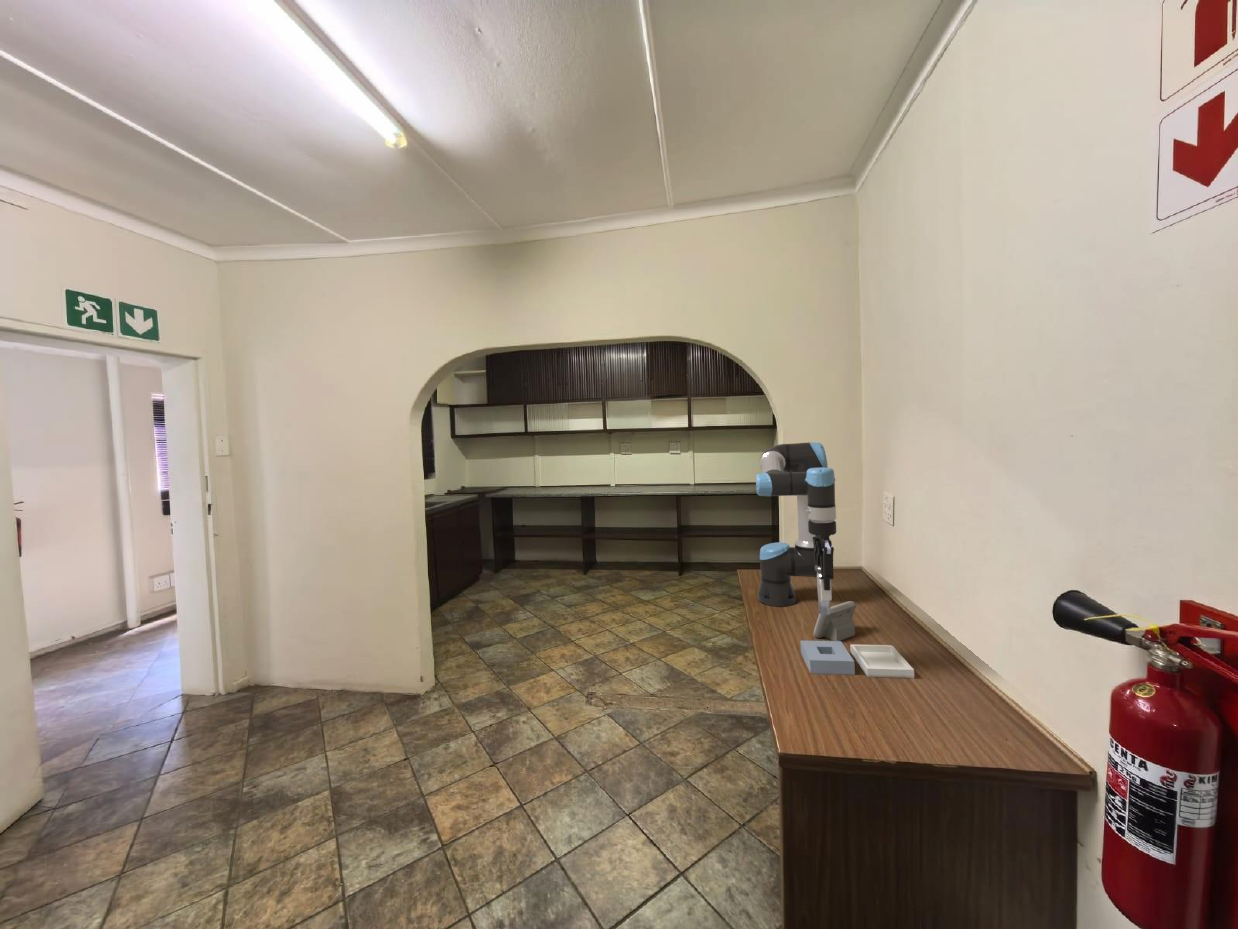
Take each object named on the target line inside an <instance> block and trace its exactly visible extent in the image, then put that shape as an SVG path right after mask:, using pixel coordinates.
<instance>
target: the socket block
mask: <svg viewBox="0 0 1238 929" xmlns="http://www.w3.org/2000/svg"><path fill="white" fill-rule="evenodd" d="M800 654H801V656H802V658H803V660H804V662H805V664H806V667H807V669H808V671H809V673H810V674H814V675H815V674H817V675H820V674H821V675H852V676H853V675H854V676H855V675H856V674H855V673H856V672H855V671H856V670H855V669H856V668H855V666H856V665H855V660H854V657H852V654H851V653H850V652H848V650H847V648H846V647H845V645H844V644H843V642H842V640H841V641H833V640H800Z"/></svg>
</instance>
